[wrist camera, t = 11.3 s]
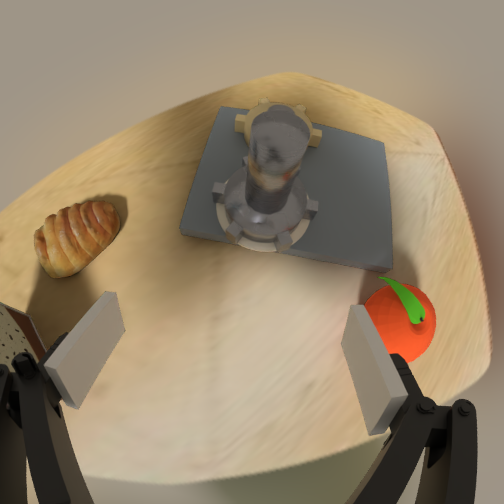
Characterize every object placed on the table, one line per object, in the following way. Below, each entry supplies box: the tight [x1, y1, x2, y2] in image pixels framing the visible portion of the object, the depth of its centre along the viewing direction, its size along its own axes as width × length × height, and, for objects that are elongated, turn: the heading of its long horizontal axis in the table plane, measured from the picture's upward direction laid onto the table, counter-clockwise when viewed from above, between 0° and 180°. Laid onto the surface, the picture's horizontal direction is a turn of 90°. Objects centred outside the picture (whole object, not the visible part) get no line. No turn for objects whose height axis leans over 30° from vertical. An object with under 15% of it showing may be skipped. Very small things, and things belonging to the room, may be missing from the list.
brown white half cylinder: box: [0, 302, 63, 407], centre depth 15 cm, size 12×6×10 cm, turn 41°
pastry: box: [34, 201, 120, 278], centre depth 23 cm, size 9×7×4 cm
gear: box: [212, 110, 319, 253], centre depth 21 cm, size 9×8×10 cm
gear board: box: [179, 98, 393, 273], centre depth 26 cm, size 20×18×5 cm
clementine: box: [364, 277, 436, 363], centre depth 21 cm, size 8×7×7 cm
